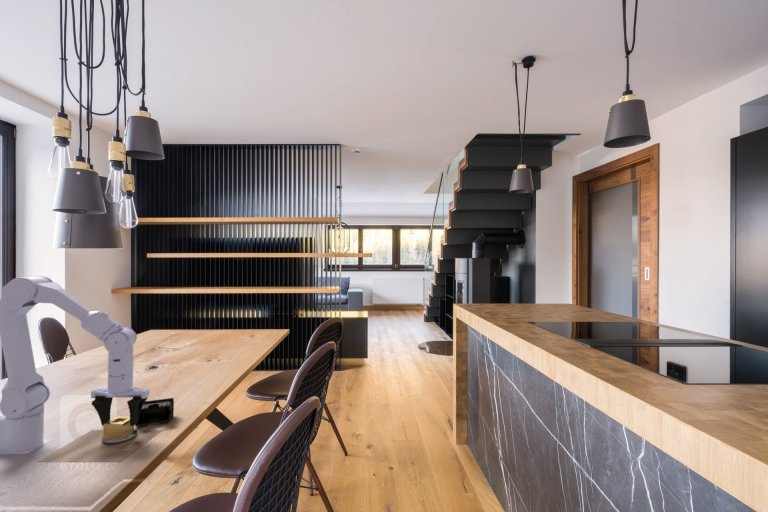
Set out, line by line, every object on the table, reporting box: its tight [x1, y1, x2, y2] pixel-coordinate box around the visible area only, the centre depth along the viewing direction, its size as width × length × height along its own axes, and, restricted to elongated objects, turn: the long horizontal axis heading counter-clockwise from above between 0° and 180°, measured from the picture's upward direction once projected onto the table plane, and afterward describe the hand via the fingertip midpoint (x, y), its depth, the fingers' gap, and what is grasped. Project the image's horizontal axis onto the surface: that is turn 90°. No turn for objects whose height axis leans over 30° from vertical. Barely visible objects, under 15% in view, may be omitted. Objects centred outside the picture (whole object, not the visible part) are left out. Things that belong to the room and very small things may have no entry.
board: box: [36, 429, 164, 463], centre depth 103 cm, size 20×18×1 cm
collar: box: [102, 416, 135, 439], centre depth 107 cm, size 5×5×4 cm
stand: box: [101, 421, 138, 444], centre depth 107 cm, size 8×8×4 cm
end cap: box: [134, 397, 175, 427], centre depth 118 cm, size 10×7×7 cm
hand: (119, 424), depth 107 cm, fingers open, 7 cm apart
